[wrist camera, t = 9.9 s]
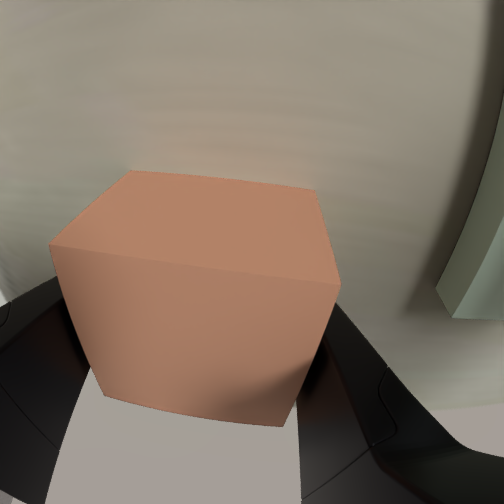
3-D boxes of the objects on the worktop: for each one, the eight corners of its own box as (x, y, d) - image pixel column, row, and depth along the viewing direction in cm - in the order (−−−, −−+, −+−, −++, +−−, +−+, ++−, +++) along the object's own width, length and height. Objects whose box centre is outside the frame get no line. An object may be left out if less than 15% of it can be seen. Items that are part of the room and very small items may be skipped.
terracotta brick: (314, 189, 8) (341, 283, 5) (282, 324, 11) (283, 427, 7) (131, 169, 8) (48, 244, 5) (144, 304, 11) (104, 395, 7)
